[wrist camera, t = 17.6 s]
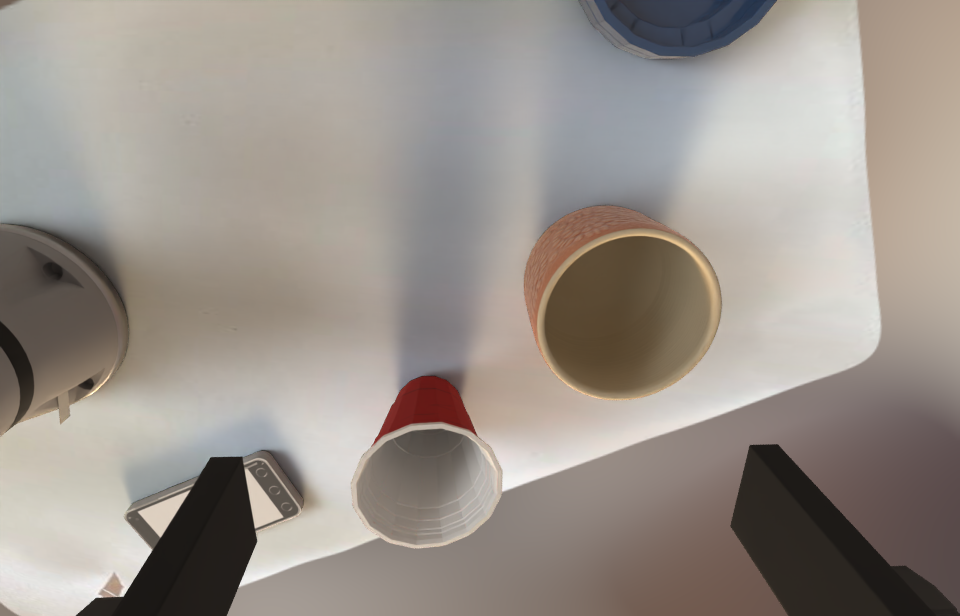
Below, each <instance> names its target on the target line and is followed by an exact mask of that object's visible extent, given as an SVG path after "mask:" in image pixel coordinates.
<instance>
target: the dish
mask: <svg viewBox="0 0 960 616" xmlns="http://www.w3.org/2000/svg"><path fill="white" fill-rule="evenodd" d="M578 1H579V2H580V4H581V6H582V8H583V10H584V12H585V13H586V15H587V17H588V19H589V21H590V22H591V24H592V26H593V27H594V28H595V29H596V30H598V31H599V32H600V33H601V34H602V35H603V36H604V37H605V38H606V39H607V40H608V41H610V42H611V43H612V44H613V45H614V46H615V47H617V48H619V49H622V50H624V51H627V52H629V53H632V54H634V55H637V56H639V57H642V58H649V59H678V58H687V57H695V56H698V55H701V54H704V53H707V52H710V51H713V50H716V49H719V48H722V47H725V46H727V45H729V44H730V43H732V42H733V41H734V40H736V39H737V38H739V37H740V36H742V35H743V34H744V33H746V32H747V31H749V30H750V29H751V28H753V27H754V26H756V25H757V24H758V23H759V22H760V20H761V19H762V18H763V17H764V16H765V14H766V13H767V12H768V11H769V10H770V8H771V7H772V6H773V5H774V3H775V2H776V1H777V0H578Z"/></svg>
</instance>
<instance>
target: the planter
mask: <svg viewBox="0 0 960 616" xmlns="http://www.w3.org/2000/svg"><path fill="white" fill-rule="evenodd" d="M524 295H525V302H526V306H527V310H528V313H529V317H530V322H531V326H532V329H533V333H534V336H535V340H536V343H537V346H538V348H539V350H540V352H541V354H542V356H543V358H544V360H545V362H546V363H547V365H548V366H549V367H550V369H551V370H552V371H553V372H554V374H555V375H556V376H557V377H558V378H559V379H560V380H562V381H563V382H564V383H565V384H567V385H568V386H569V387H571V388H573V389H574V390H576V391H578V392H580V393H583V394H585V395H588V396H591V397H595V398H599V399H605V400H630V399H636V398H641V397H645V396H648V395H651V394H654V393H657V392H659V391H661V390H663V389H665V388H667V387H669V386H671V385H672V384H674V383H676V382H677V381H679V380H680V379H681V378H683V377H684V376H685V375H686V374H687V373H689V372H690V371H691V370H692V369H693V368H694V367H695V366H696V365H697V364H698V362H699V361H700V360H701V359H702V357H703V356H704V355H705V353H706V352H707V350H708V349H709V347H710V345H711V343H712V341H713V339H714V337H715V334H716V332H717V329H718V325H719V321H720V316H721V306H722V299H721V290H720V285H719V281H718V278H717V276H716V273H715V271H714V269H713V267H712V265H711V264H710V262H709V261H708V259H707V258H706V257H705V255H704V254H703V253H702V252H701V251H700V250H699V248H697V247H696V246H695V245H694V244H693V243H692V242H691V241H689V240H688V239H687V238H685V237H684V236H683V235H681V234H679V233H678V232H676V231H674V230H672V229H670V228H669V227H667V226H665V225H663V224H661V223H659V222H657V221H655V220H652V219H650V218H649V217H647V216H645V215H643V214H641V213H639V212H636V211H634V210H630V209H627V208H623V207H618V206H606V205H604V206H593V207H587V208H583V209H580V210H577V211H574V212H572V213H570V214H568V215H566V216H564V217H562V218H561V219H559V220H558V221H556V222H555V223H554V224H553V225H551V226H550V227H549V228H548V229H547V230H546V231H545V232H544V233H543V235H542V236H541V237H540V238H539V240H538V241H537V243H536V244H535V246H534V248H533V249H532V251H531V254H530V256H529V259H528V262H527V265H526V269H525V275H524Z"/></svg>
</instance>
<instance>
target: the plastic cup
mask: <svg viewBox="0 0 960 616" xmlns="http://www.w3.org/2000/svg"><path fill="white" fill-rule="evenodd" d="M351 491H352V502H353V508H354V510H355V511H356V513H357V515H358V516H359V518H360V519H361V521H362V522H363V524H364V525H365V527H366V528H367V529H368V530H370V531H371V532H373V533H374V534H376V535H377V536H379V537H381V538H382V539H384V540H385V541H387V542H388V543H393V544H397V545H402V546H406V547H411V548H415V549H416V548H426V547H436V546H445V545H447V544H449V543H452V542H454V541H456V540H459V539H461V538H464V537H466V536H468V535H470V534H472V533H473V532H474V531H475V530H476V529H477V528H478V527H480V526H481V525H482V524H483V523H484V522H485V521H486V520H487V519H488V518H490V516H491V514H492V513H493V511H494V509H495V507H496V505H497V503H498V501H499V499H500V497H501V495H502V469H501V467H500V465H499V463H498V461H497V458H496V456H495V454H494V452H493V450H492V448H491V447H490V446H489V445H487V444H486V443H485V442H484V441H482V440H481V439H480V438H479V437H478V436H477V434H476V432H475V429H474V427H473V425H472V422H471V420H470V417H469V415H468V413H467V411H466V409H465V407H464V404H463V401H462V399H461V397H460V395H459V393H458V391H457V390H456V388H455V387H454V386H453V385H452V384H450V383H449V382H448V381H447V380H445V379H442V378H439V377H436V376H422V377H419V378H416V379H414V380H411V381H410V382H409V383H408V384H407V385H406V386H404V387H403V388H402V390H401V391H400V392H399V394H398V396H397V398H396V400H395V403H394V404H393V405H392V406H391V408H390V411H389V413H388V415H387V417H386V419H385V422H384V424H383V426H382V428H381V430H380V433H379V435H378V436H377V437H376V439H375V441H374V443H373V445H372V446H371V448H370V449H369V450H368V451H367V452H366V453H364V454H363V456H362V457H361V459H360V462H359V464H358V467H357V469H356V471H355V474H354V476H353V479H352V481H351Z"/></svg>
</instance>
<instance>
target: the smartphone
mask: <svg viewBox="0 0 960 616" xmlns="http://www.w3.org/2000/svg"><path fill="white" fill-rule="evenodd" d="M243 463H244V469H245V475H246V480H247V486H248V492H249V497H250V503H251V509H252V515H253V520H254V526H255V532H259V531H261V530H264V529H267V528H269V527H272V526H274V525H277V524H279V523H282V522H284V521H287V520H289V519H292V518H294V517H297V516H299V515H300V513H301V511H302V508H303V505H304V500H303V499H302V497H301V496H300V494H299V493H298V492H297V490H296V489H295V487H294V486H293V485H292V483H291V482H290V480H289V479H288V478H287V476H286V475H285V473H284V472H283V471H282V469H281V468H280V466H279V465H278V464H277V462H276V461H275V459H274V458H273V457H272V455H271V454H270V453H268V452H266V451H259V452H256V453H254V454H251V455H249V456H246V457H244V458H243ZM198 477H199V476H198ZM198 477H195V478H193V479H190V480H188V481H186V482H183V483H181V484H178V485H176V486H173V487H171V488H169V489H166V490H164V491H161V492H159V493H156V494H154V495H152V496H149V497H147V498H144V499H142V500H139V501H137V502H135V503H133V504H132V505H131V506H130V507H129V509H128V510H127V511H126V513H125V514H124V518H125V520H126V521H127V522H128V523H129V525H130V526H131V527H132V528H133V529H134V530H135V531H136V532H137V533H138V535H139V536H140V537H141V538H142V539H143V540H144V541H145V542H146V543H147V545H148V546H149V547H150V548H151V549H152V550H153V549H154V547H155V546H156V544H157V543H158V541H159V539H160V538H161V536H162V535H163V533H164V531H165V530H166V528H167V527H168V525H169V523H170V522H171V520H172V519H173V517H174V516H175V514H176V512H177V511H178V509H179V508H180V506H181V504H182V503H183V501H184V500H185V498H186V496H187V495H188V493H189V492H190V490H191V488H192V487H193V485H194V484H195V482H196V480H197V479H198Z"/></svg>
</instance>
